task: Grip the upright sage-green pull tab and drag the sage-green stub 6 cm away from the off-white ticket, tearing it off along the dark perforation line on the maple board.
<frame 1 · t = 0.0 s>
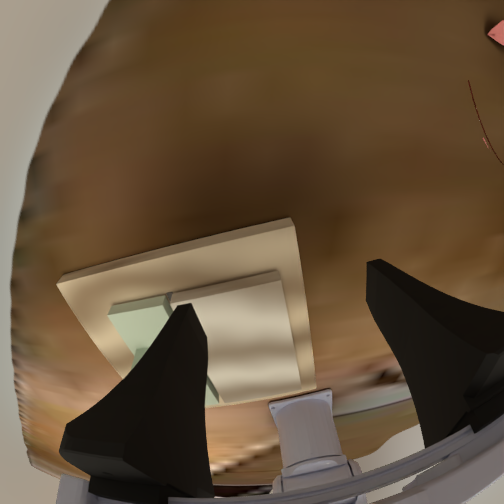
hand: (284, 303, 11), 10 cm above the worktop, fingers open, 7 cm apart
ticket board: (200, 340, 26), on the worktop
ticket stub: (166, 385, 22), point 5 cm above the worktop, slide at 0.0 cm
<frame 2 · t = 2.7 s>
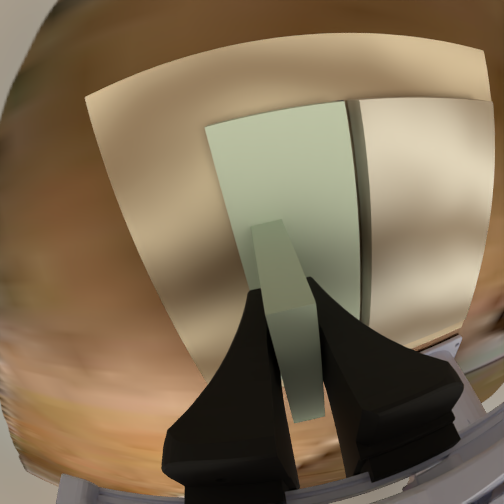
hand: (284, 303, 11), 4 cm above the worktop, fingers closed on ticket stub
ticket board: (343, 234, 15), on the worktop
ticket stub: (317, 307, 11), point 5 cm above the worktop, slide at 0.0 cm, touching gripper
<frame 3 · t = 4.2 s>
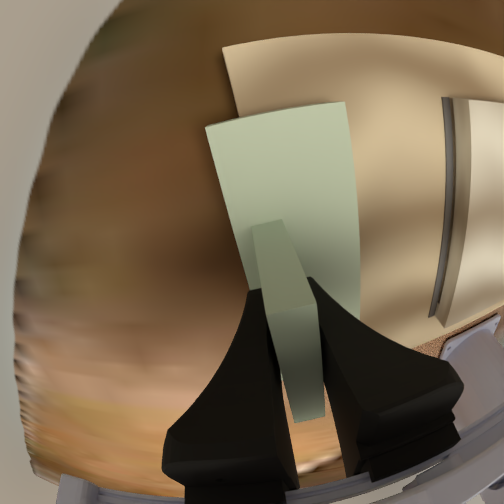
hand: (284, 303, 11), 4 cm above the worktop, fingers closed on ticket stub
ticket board: (431, 214, 14), on the worktop
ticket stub: (318, 307, 11), point 5 cm above the worktop, slide at 5.9 cm, touching gripper
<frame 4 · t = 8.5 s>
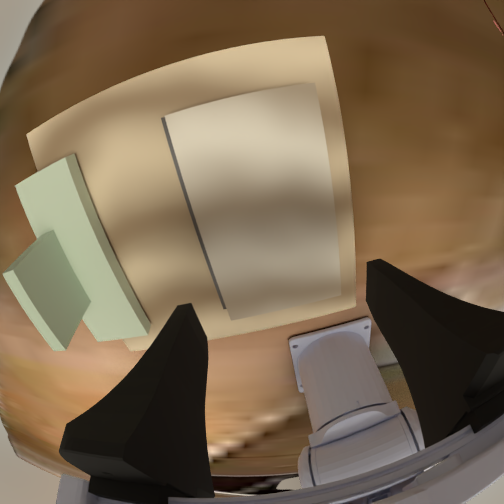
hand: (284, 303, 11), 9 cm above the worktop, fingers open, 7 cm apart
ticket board: (200, 215, 19), on the worktop
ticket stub: (66, 281, 15), point 5 cm above the worktop, slide at 6.0 cm
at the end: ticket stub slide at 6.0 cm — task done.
